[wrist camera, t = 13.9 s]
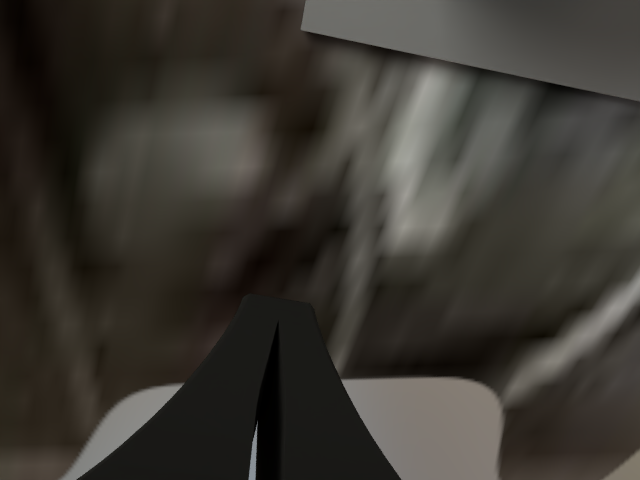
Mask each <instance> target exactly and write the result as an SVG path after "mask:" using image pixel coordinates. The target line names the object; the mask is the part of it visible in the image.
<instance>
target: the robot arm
mask: <svg viewBox="0 0 640 480" xmlns="http://www.w3.org/2000/svg"><path fill="white" fill-rule="evenodd" d="M257 421H258V426H257V453H256V454H257V455H256V480H401V478H400V477H399V476H398V474H397V473H396V472H395V470H394V469H393V467H392V466H391V464H390V463H389V462H388V460H387V459H386V458H385V456H384V455H383V453H382V451H381V450H380V449H379V447H378V445H377V444H376V442H375V441H374V439H373V438H372V436H371V434H370V433H369V431H368V429H367V428H366V426H365V424H364V423H363V421H362V419H361V418H360V416H359V414H358V412H357V411H356V408H355V407H354V405H353V403H352V401H351V399H350V398H349V396H348V394H347V392H346V390H345V388H344V386H343V384H342V381H341V379H340V377H339V375H338V373H337V371H336V368H335V366H334V364H333V362H332V360H331V357H330V355H329V352H328V350H327V347H326V345H325V342H324V340H323V337H322V334H321V331H320V329H319V326H318V322H317V319H316V316H315V312H314V309H313V307H312V306H311V304H310V303H304V302H298V301H292V300H286V299H280V298H274V297H267V296H261V295H255V294H248V295H246V296H244V297H243V299H242V301H241V304H240V306H239V308H238V310H237V312H236V314H235V316H234V318H233V320H232V321H231V323H230V324H229V326H228V328H227V329H226V331H225V332H224V334H223V335H222V337H221V338H220V339H219V341H218V342H217V344H216V345H215V346H214V348H213V349H212V350H211V352H210V353H209V355H208V356H207V357H206V359H205V360H204V361H203V362H202V364H201V365H200V366H199V367H198V368H197V369H196V371H195V372H194V373H193V374H192V375H191V377H190V378H189V379H188V380H187V381H186V382H185V384H184V385H183V386H182V387H181V388H180V389H179V390H178V391H177V393H176V394H175V395H174V396H173V397H172V398H171V399H170V400H169V401H168V402H167V403H166V404H165V405H164V406H163V407H162V408H161V409H160V410H159V411H158V412H157V413H156V414H155V415H154V416H153V417H152V418H151V419H150V420H149V421H148V422H147V423H145V424H144V425H143V426H142V427H141V428H140V429H139V430H138V431H136V432H135V433H134V434H133V435H132V436H131V437H130V438H129V439H128V440H126V441H125V442H124V443H123V444H122V445H121V446H119V448H117V449H116V450H115V451H113V452H112V453H111V454H110V455H109V456H107V457H106V458H105V459H104V460H102V461H101V462H100V463H98V464H97V465H96V466H95V467H93V468H92V469H90V470H89V471H88V472H86V473H85V474H84V475H82V476H81V477H80V478H78V479H77V480H248V478H249V469H250V460H251V451H252V442H253V438H254V434H255V430H256V425H257Z"/></svg>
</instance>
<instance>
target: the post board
mask: <svg viewBox="0 0 640 480" xmlns="http://www.w3.org/2000/svg"><path fill="white" fill-rule="evenodd" d="M301 30H303V31H308V32H312V33H317V34H322V35H327V36H331V37H336V38H341V39H346V40H350V41H355V42H360V43H365V44H369V45H374V46H379V47H384V48H388V49H393V50H398V51H403V52H407V53H412V54H417V55H422V56H426V57H431V58H436V59H440V60H445V61H450V62H455V63H459V64H464V65H469V66H474V67H478V68H483V69H488V70H493V71H497V72H502V73H507V74H512V75H516V76H521V77H526V78H531V79H535V80H540V81H545V82H550V83H554V84H559V85H564V86H569V87H573V88H578V89H583V90H588V91H592V92H597V93H602V94H607V95H611V96H616V97H621V98H626V99H630V100H635V101H640V0H306V2H305V8H304V14H303V20H302V25H301Z"/></svg>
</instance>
